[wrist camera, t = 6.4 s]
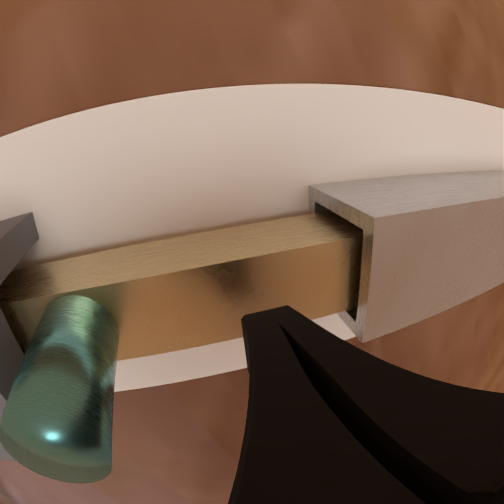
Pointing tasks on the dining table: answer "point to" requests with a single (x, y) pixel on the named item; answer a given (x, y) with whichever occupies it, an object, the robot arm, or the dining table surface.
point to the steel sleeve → (419, 243)
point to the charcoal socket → (3, 341)
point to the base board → (223, 173)
